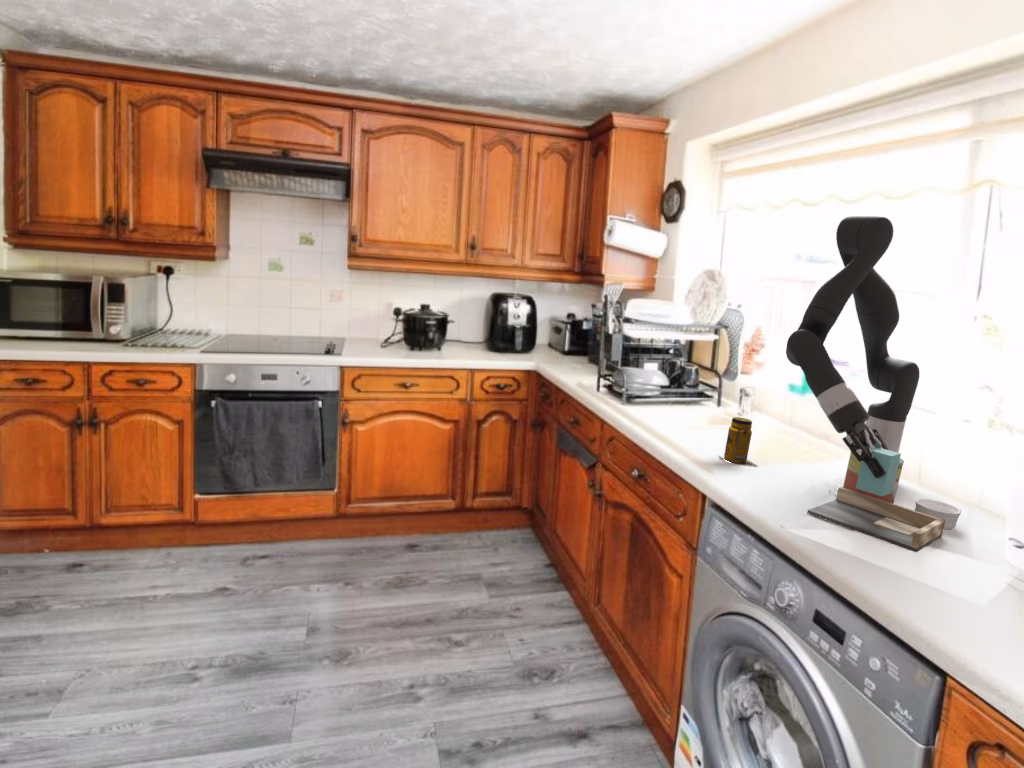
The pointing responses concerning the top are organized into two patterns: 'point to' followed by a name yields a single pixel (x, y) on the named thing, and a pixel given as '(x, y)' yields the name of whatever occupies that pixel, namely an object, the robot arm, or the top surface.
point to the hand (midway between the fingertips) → (886, 474)
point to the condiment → (739, 442)
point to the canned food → (853, 477)
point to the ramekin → (939, 511)
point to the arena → (881, 519)
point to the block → (885, 482)
